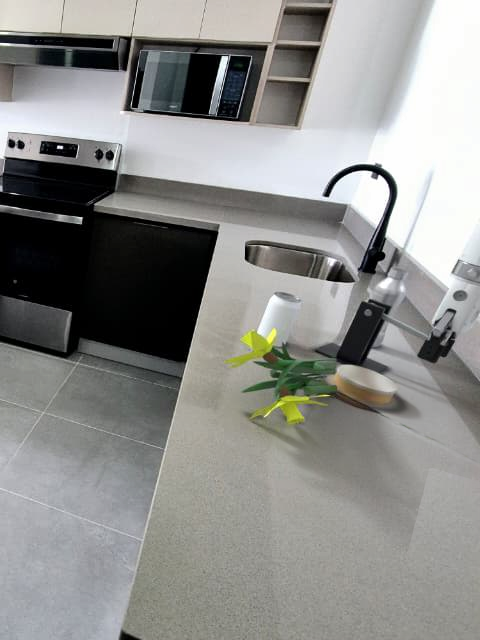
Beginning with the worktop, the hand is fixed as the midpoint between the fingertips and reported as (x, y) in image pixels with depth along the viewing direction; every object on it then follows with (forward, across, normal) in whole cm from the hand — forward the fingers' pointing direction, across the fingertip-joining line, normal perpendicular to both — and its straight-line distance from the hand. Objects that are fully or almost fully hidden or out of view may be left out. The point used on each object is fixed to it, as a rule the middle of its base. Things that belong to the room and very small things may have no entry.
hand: (431, 356), depth 102 cm
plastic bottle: (+9, +16, +16) cm, 24 cm away
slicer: (+8, 0, +13) cm, 15 cm away
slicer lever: (-2, 0, +7) cm, 7 cm away
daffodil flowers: (+9, -35, +11) cm, 38 cm away
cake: (+8, -14, +5) cm, 17 cm away
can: (+9, -10, +26) cm, 30 cm away
